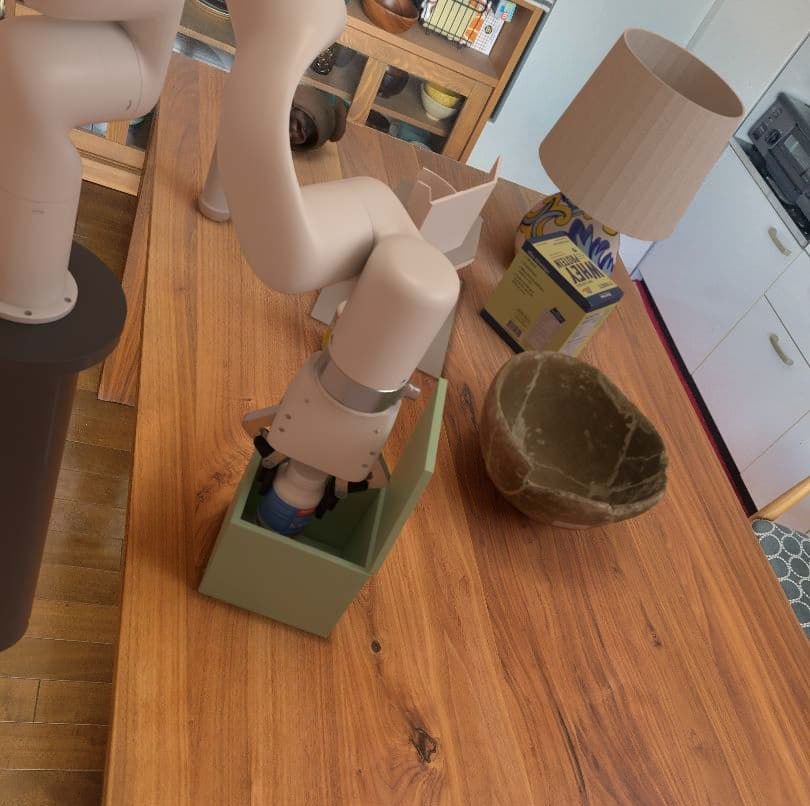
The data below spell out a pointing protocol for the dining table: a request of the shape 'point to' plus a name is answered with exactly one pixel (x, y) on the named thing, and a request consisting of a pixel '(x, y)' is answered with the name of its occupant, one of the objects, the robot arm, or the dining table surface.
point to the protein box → (551, 297)
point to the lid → (409, 476)
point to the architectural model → (431, 242)
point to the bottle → (214, 194)
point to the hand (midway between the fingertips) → (292, 496)
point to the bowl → (569, 443)
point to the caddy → (294, 558)
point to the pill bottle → (291, 499)
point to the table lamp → (633, 147)
